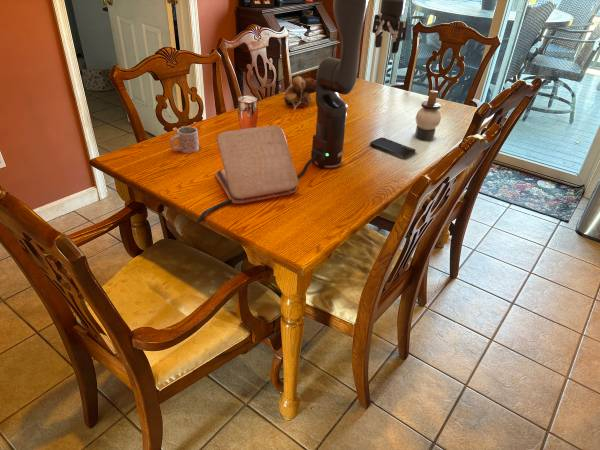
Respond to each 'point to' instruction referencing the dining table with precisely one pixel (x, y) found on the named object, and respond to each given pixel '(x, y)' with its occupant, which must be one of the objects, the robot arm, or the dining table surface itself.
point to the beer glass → (247, 111)
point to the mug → (186, 140)
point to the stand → (424, 134)
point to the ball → (428, 119)
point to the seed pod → (300, 92)
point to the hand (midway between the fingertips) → (385, 50)
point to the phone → (393, 148)
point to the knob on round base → (431, 101)
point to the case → (256, 164)
